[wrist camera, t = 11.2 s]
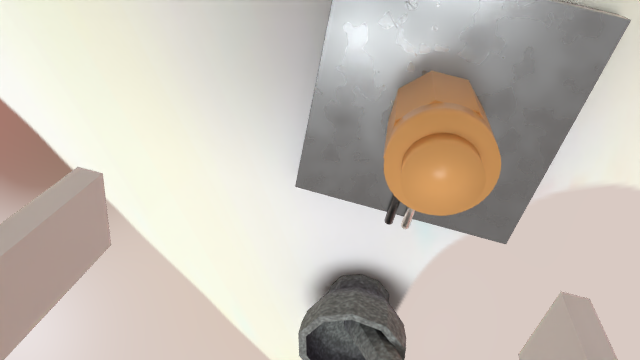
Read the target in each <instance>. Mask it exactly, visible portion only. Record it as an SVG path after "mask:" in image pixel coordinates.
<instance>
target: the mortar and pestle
mask: <svg viewBox="0 0 640 360" xmlns="http://www.w3.org/2000/svg"><path fill="white" fill-rule="evenodd" d="M388 299H389V294H388V292H387V291H386V290H385V289H384V287H383V286H382V285H381V283H380V282H379V281H377V280H375V279H372V278H369V277H367V276H364V275H361V274H356V275H348V276H341V277H340V278H339V279H338V280H337V281H336V282H335V283H333V284H332V285H331V286H330V291H329V292H328V293H327V294H326V295H325V296H324V297H323V298H321V299H320V300H319V301H318V302H317V303H316V304H315V305H313V306H312V307H311V308H310V309H309V310H308V311H307V313H306V315H305V317H304V319H303V321H302V323H301V327H300V330H299V356H300V357H301V358H302V359H303V360H404V358H405V351H406V335H405V330H404V325H403V323H402V321H401V320H400V318H399V317H398V315H397V314H396V312H395V311H394V310H393V309H392V307H391V306H390V305H389V303H388Z"/></svg>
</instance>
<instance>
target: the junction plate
mask: <svg viewBox="0 0 640 360" xmlns="http://www.w3.org/2000/svg"><path fill="white" fill-rule="evenodd" d="M630 21H631V20H630V19H628V18H625V17H623V16H620V15H618V14H614V13H610V12H606V11H602V10H598V9H593V8H589V7H585V6H581V5H577V4H572V3H568V2H564V1H560V0H332V5H331V10H330V15H329V20H328V25H327V30H326V35H325V40H324V45H323V50H322V55H321V60H320V65H319V70H318V75H317V80H316V85H315V90H314V95H313V100H312V105H311V110H310V115H309V120H308V125H307V130H306V135H305V140H304V145H303V150H302V155H301V160H300V165H299V170H298V175H297V180H296V185H295V187H298V188H302V189H306V190H309V191H313V192H317V193H320V194H324V195H327V196H331V197H335V198H338V199H342V200H346V201H349V202H353V203H357V204H360V205H364V206H368V207H371V208H375V209H379V210H382V211H386V212H387V214H386V217H385V223H386V224H392V223H393V220H394V218H395V215H396V214H397V215H401V216H404V218H403V220H402V223H401V226H402V228H403V229H407V228H409V226H410V224H411V221H412V219H415V220H419V221H423V222H426V223H430V224H434V225H437V226H441V227H445V228H448V229H452V230H456V231H459V232H463V233H467V234H470V235H474V236H477V237H481V238H485V239H488V240H492V241H496V242H499V243H503V244H506V243H507V241H508V239H509V238H510V236H511V234H512V232H513V231H514V228H515V227H516V225H517V223H518V222H519V220H520V218H521V216H522V214H523V213H524V211H525V209H526V207H527V205H528V204H529V202H530V200H531V198H532V197H533V195H534V193H535V191H536V189H537V188H538V186H539V184H540V182H541V180H542V179H543V177H544V175H545V173H546V171H547V170H548V168H549V166H550V164H551V162H552V161H553V159H554V157H555V155H556V154H557V152H558V150H559V148H560V146H561V145H562V143H563V141H564V139H565V137H566V136H567V134H568V132H569V130H570V128H571V127H572V125H573V123H574V121H575V119H576V118H577V116H578V114H579V112H580V111H581V109H582V107H583V105H584V103H585V102H586V100H587V98H588V96H589V94H590V93H591V91H592V89H593V87H594V85H595V84H596V82H597V80H598V78H599V76H600V75H601V73H602V71H603V69H604V68H605V66H606V64H607V62H608V60H609V59H610V57H611V55H612V53H613V51H614V50H615V48H616V46H617V44H618V42H619V41H620V39H621V37H622V35H623V34H624V32H625V30H626V28H627V26H628V25H629V23H630ZM430 71H435V72H439V73H443V74H447V75H451V76H455V77H459V78H463V79H467V80H469V82H470V84H471V86H472V88H473V90H474V92H475V94H476V96H477V98H478V100H479V102H480V104H481V106H482V108H483V110H484V111H485V114H486V116H487V119H488V122H489V124H490V127H491V130H492V132H493V135H494V137H495V140H496V143H497V145H498V149H499V152H500V156H501V171H500V175H499V178H498V181H497V183H496V185H495V187H494V188H493V190H492V191H491V193H490V194H489V195H488V196H487V197H486V198H485V199H484V200H483V201H481V202H480V203H479V204H477V205H476V206H474V207H472V208H470V209H468V210H466V211H463V212H460V213H457V214H453V215H446V216H438V215H429V214H425V213H421V212H418V211H415V210H413V209H411V208H409V207H407V206H406V205H404V204H403V203H402V202H400V201H399V200H398V199H397V198H396V197H395V196H394V194H393V193H392V192H391V190H390V189H389V187H388V185H387V182H386V179H385V175H384V158H383V156H384V149H385V141H386V134H387V126H388V121H389V117H390V114H391V111H392V108H393V104H394V101H395V98H396V95H397V91H398V89H399V88H401V87H403V86H404V85H406V84H408V83H410V82H412V81H414V80H415V79H417V78H419V77H421V76H423V75H425V74H426V73H428V72H430Z"/></svg>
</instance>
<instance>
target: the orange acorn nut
mask: <svg viewBox="0 0 640 360" xmlns="http://www.w3.org/2000/svg"><path fill="white" fill-rule="evenodd" d="M383 158H384V175H385V179H386V182H387V185H388V187H389V189H390V190H391V192H392V193H393V194H394V196H395V197H396V198H397V199H398V200H399V201H400V202H402V203H403V204H404V205H406V206H407V207H409V208H411V209H413V210H415V211H418V212H421V213H425V214H429V215H438V216H446V215H453V214H457V213H460V212H463V211H466V210H468V209H470V208H472V207H474V206H476V205H477V204H479V203H480V202H481V201H483V200H484V199H485V198H486V197H487V196H488V195H489V194H490V193H491V191H492V190H493V188H494V187H495V185H496V183H497V181H498V178H499V175H500V171H501V156H500V152H499V149H498V145H497V143H496V140H495V137H494V135H493V132H492V130H491V127H490V124H489V122H488V119H487V116H486V114H485V111H484V110H483V108H482V106H481V104H480V102H479V100H478V98H477V96H476V94H475V92H474V90H473V88H472V86H471V84H470V82H469V80H467V79H463V78H459V77H455V76H451V75H447V74H443V73H439V72H435V71H430V72H428V73H426V74H425V75H423V76H421V77H419V78H417V79H415V80H414V81H412V82H410V83H408V84H406V85H404V86H403V87H401V88H399V89H398V91H397V95H396V98H395V101H394V104H393V108H392V111H391V114H390V117H389V121H388V126H387V134H386V141H385V149H384V156H383Z"/></svg>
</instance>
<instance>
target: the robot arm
mask: <svg viewBox="0 0 640 360" xmlns="http://www.w3.org/2000/svg"><path fill="white" fill-rule="evenodd" d="M110 246H111V240H110V232H109V223H108V214H107V206H106V198H105V189H104V181H103V173H99V172H95V171H92V170H88V169H84V168H80V167H77V168H76V169H74V170H73V171H72V172H70V173H69V174H68V175H66V176H65V177H64V178H62V179H61V180H60V181H58V182H57V183H55V184H54V185H53V186H51V187H50V188H49V189H47V190H46V191H45V192H43V193H42V194H40V195H39V196H38V197H37V198H35V199H34V200H32V201H31V202H30V203H28V204H27V205H25V206H24V207H23V208H21V209H20V210H19V211H17V212H16V213H15V214H13V215H12V216H10V217H9V218H8V219H6V220H5V221H4V222H3V223H1V224H0V360H4V359H5V358H6V357H7V356H8V355H9V354H10V353H11V352H12V350H13V349H14V348H15V347H16V346H17V345H18V344H19V343H20V342H21V341H22V340H23V339H24V338H25V337H26V335H27V334H28V333H29V332H30V331H31V330H32V329H33V328H34V327H35V326H36V325H37V324H38V323H39V322H40V321H41V319H42V318H43V317H44V316H45V315H46V314H47V313H48V312H49V311H50V310H51V309H52V308H53V307H54V306H55V304H56V303H57V302H58V301H59V300H60V299H61V298H62V297H63V296H64V295H65V294H66V293H67V291H69V289H70V288H71V287H72V286H73V285H74V284H75V283H76V282H77V281H78V280H79V279H80V278H81V277H82V276H83V274H84V273H85V272H86V271H87V270H88V269H89V268H90V267H91V266H92V265H93V264H94V263H95V262H96V261H97V259H98V258H99V257H100V256H101V255H102V254H103V253H104V252H105V251H106V250H107V249H108V248H109V247H110ZM518 355H519V360H618V359H617V357H616V355H615V353H614V351H613V348H612V346H611V344H610V342H609V340H608V337H607V335H606V333H605V331H604V329H603V326H602V324H601V322H600V320H599V318H598V316H597V314H596V311H595V309H594V307H593V305H592V303H591V300H590V299H588V298H584V297H580V296H577V295H573V294H569V293H565V292H560V294H559V295H558V297H557V298H556V300H555V301H554V302H553V304H552V306H551V307H550V308H549V310H548V311H547V313H546V314H545V316H544V317H543V319H542V320H541V322H540V323H539V325H538V326H537V328H536V329H535V331H534V332H533V334H532V335H531V336H530V338H529V340H528V341H527V342H526V344H525V345H524V347H523V348H522V350H521V351H520V353H519V354H518Z"/></svg>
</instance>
